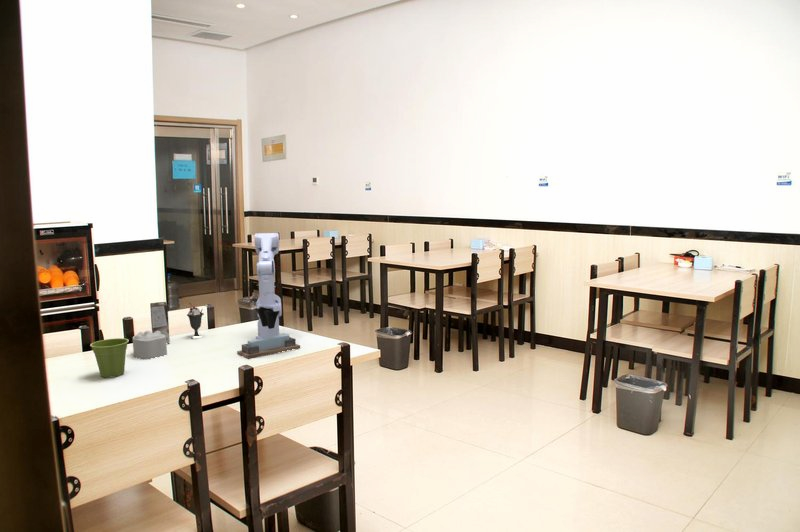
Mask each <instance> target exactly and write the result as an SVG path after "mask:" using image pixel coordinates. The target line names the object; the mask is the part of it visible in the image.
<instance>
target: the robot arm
mask: <svg viewBox="0 0 800 532" xmlns="http://www.w3.org/2000/svg"><path fill="white" fill-rule="evenodd" d="M254 247H255V252H256V254H257V255H258V262H256V274H257V280H258V292H259V293H258V296H259V297H258V298H257V301H255V303H256V304H255V306H256V308H255V311H256V313H257V315H256V316H257V317H258V318H259V319H258V320H257V336H255V338H256V339H261V338H266V337H272V336H277V335H280V317H281V316H282V315H283V314H282V313H283V311H282V310H283V309H282V299H281V297H280V296H279V295H277V294H275V275H276V268H275V267H276V265H275V263H276V262H275V260H274V257H275V255H277V254H279V251H280V234H279V233H278V232H258V233H257V232H256V233H255V234H254Z"/></svg>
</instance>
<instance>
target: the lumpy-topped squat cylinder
mask: <svg viewBox="0 0 800 532" xmlns="http://www.w3.org/2000/svg"><path fill="white" fill-rule="evenodd" d="M167 345H168V344H166V336H165V335H163V334H161V332H160V331H155V332H154V333H152V331H150V330H146V331H144V332H142V331H140V332H138V333H137V334H135V335H134V336H132V348H133V350H132V351H133V352H132V353H133V357H134V358H136V357H137V358H136V359H139V358H140V359H139V360H151V358H153V359H156V358H155V357H157V358H161V357H160V356H162V357H165V356H164V355H166V356H167V355H168V349H167Z"/></svg>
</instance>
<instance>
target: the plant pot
mask: <svg viewBox="0 0 800 532" xmlns="http://www.w3.org/2000/svg"><path fill="white" fill-rule="evenodd" d="M129 340H130V339H128V338H122V337H120V338H119V337H118V338H117V337H116V338H108V339H102V340H97V341H95V342H92V343H90V345H89V346H90V347H91V348H92V352H93V354H94V356H95V360H96V364H97V366H98V370H99V374H100V377H102V378H104V377H105V378H115V377H119V376H120V375H123V374H124V373H125V369H126V368H125V367H126V366H125V365H126V356H127V355H126V354H127V348H128V343H129Z"/></svg>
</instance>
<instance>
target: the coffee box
mask: <svg viewBox="0 0 800 532" xmlns="http://www.w3.org/2000/svg"><path fill="white" fill-rule="evenodd" d="M149 306H150V307H149V308H150V309H149V310H150V322H151V323H150V324H151V333H154V332H155V331H160V332H161V334H163V335H165V336H166V343H169V342H170V341H171V340H170V327H169V326H170V322H169V307H168V303H167V301H160V302H151V303H150V305H149ZM170 343H171V342H170Z"/></svg>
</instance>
